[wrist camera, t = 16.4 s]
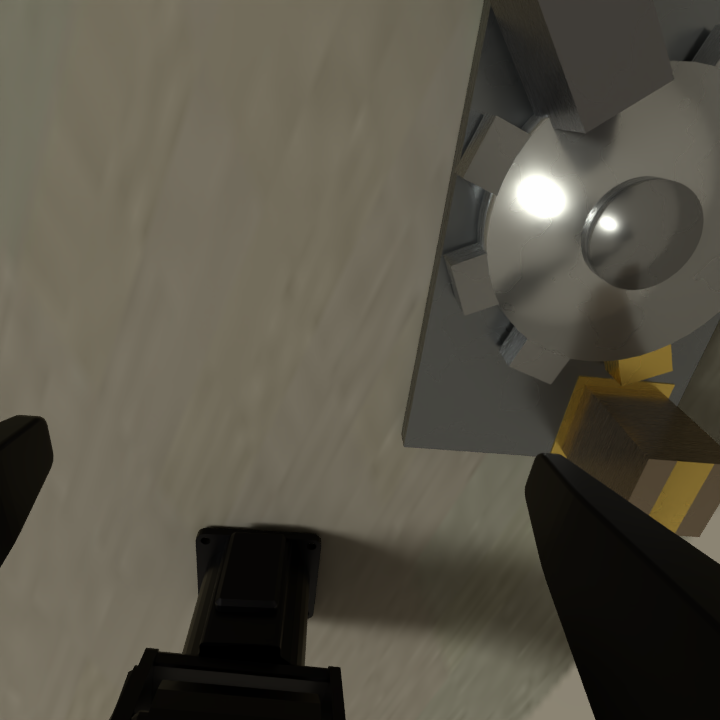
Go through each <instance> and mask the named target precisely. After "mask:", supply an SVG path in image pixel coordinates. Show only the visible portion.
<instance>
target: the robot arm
mask: <svg viewBox="0 0 720 720" xmlns="http://www.w3.org/2000/svg"><path fill="white" fill-rule="evenodd" d="M52 463H53V449H52V445H51V440H50V435H49V430H48V426H47V422H46V421H45V419H44V418H42V417H40V416H28V415H16V416H14V417H11V418H9V419H6V420H4V421H2V422H0V567H1V565H2V564H3V562H4V560H5V559H6V557H7V555H8V554H9V552H10V550H11V549H12V547H13V545H14V544H15V542H16V540H17V538H18V536H19V534H20V532H21V530H22V528H23V526H24V524H25V522H26V519H27V517H28V515H29V513H30V511H31V509H32V507H33V505H34V503H35V501H36V498H37V496H38V494H39V492H40V490H41V488H42V486H43V484H44V482H45V480H46V477H47V475H48V473H49V471H50V469H51V467H52ZM525 499H526V503H527V507H528V511H529V516H530V520H531V524H532V528H533V533H534V537H535V541H536V545H537V549H538V554H539V558H540V562H541V565H542V569H543V572H544V576H545V579H546V582H547V585H548V587H549V590H550V593H551V596H552V599H553V601H554V604H555V607H556V610H557V613H558V616H559V618H560V621H561V624H562V627H563V630H564V632H565V635H566V638H567V641H568V644H569V647H570V649H571V652H572V655H573V658H574V661H575V663H576V666H577V669H578V672H579V675H580V677H581V680H582V683H583V686H584V689H585V692H586V694H587V697H588V700H589V703H590V706H591V709H592V711H593V714H594V717H595V719H596V720H720V564H719V563H717V562H716V561H714V560H713V559H711V558H710V557H708V556H707V555H706V554H704V553H702V552H701V551H700V550H698V549H697V548H695V547H694V546H692V545H691V544H690V543H688V542H687V541H685V540H684V539H682V538H681V537H680V536H678V535H677V534H675V533H674V532H672V531H671V530H669V529H668V528H666V527H665V526H664V525H662V524H661V523H659V522H658V521H656V520H655V519H653V518H652V517H651V516H649V515H648V514H646V513H645V512H643V511H642V510H640V509H639V508H638V507H636V506H635V505H633V504H632V503H630V502H629V501H627V500H626V499H625V498H623V497H622V496H620V495H619V494H617V493H616V492H614V491H613V490H612V489H610V488H609V487H607V486H606V485H604V484H603V483H601V482H600V481H599V480H597V479H596V478H594V477H593V476H591V475H590V474H588V473H587V472H586V471H584V470H583V469H581V468H580V467H578V466H577V465H575V464H574V463H573V462H571V461H570V460H568V459H567V458H565V457H564V456H562V455H560V454H554V453H540V454H538V455H537V456H536V458H535V460H534V463H533V465H532V468H531V471H530V474H529V477H528V480H527V482H526V486H525ZM205 537H206V538H205ZM309 543H314V544H309ZM320 551H321V538H320V537H319V536H318V535H316V534H305V533H288V532H270V531H252V530H234V529H216V528H203V529H201V530H199V532H198V534H197V537H196V556H197V577H198V599H197V603H196V606H195V610H194V613H193V617H192V620H191V624H190V628H189V631H188V635H187V638H186V642H185V645H184V649H183V652H182V654H180V653H170V652H160V651H159V649H154V648H146V649H145V651H144V654H143V656H142V658H141V660H140V663H139V665H138V666H137V665H135V666H134V668H133V670H132V671H129V672H128V675H127V678H126V680H125V683H124V686H123V688H122V691H121V694H120V697H119V699H118V702H117V704H116V707H115V709H114V711H113V714H112V715H111V717H110V719H109V720H346V719H345V709H344V699H343V689H342V679H341V669H340V667H332V666H329V667H328V668H320V667H310V666H305V652H306V635H307V619H308V618H311V617H312V616H313V612H314V603H315V595H316V586H317V577H318V569H319V560H320Z"/></svg>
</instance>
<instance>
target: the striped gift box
mask: <svg viewBox="0 0 720 720" xmlns="http://www.w3.org/2000/svg"><path fill="white" fill-rule="evenodd" d="M562 451H563V452H564V454H565V456H566V457H567V459H568V460H570V461H571V462H573V463H574V464H575V465H577V466H578V467H580V468H581V469H583V470H584V471H586V472H587V473H588V474H590V475H591V476H593V477H594V478H596V479H597V480H599V481H600V482H601V483H603V484H604V485H606V486H607V487H609V488H610V489H612V490H613V491H614V492H616V493H617V494H619V495H620V496H622V497H623V498H625V499H626V500H627V501H629V502H630V503H632V504H633V505H635V506H636V507H638V508H639V509H640V510H642V511H643V512H645V513H646V514H648V515H649V516H651V517H652V518H653V519H655V520H656V521H658V522H659V523H661V524H662V525H664V526H665V527H666V528H668V529H669V530H671V531H672V532H674V533H675V534H677V535H678V536H692V537H700V535H701V533H702V532H703V530H704V528H705V527H706V525H707V523H708V522H709V520H710V518H711V517H712V515H713V513H714V512H715V510H716V508H717V507H718V505H719V503H720V445H719V444H718V443H716V442H715V441H714V440H713V439H712V438H711V437H710V436H709V435H708V434H707V433H706V432H704V431H703V430H702V429H701V428H700V427H699V426H698V425H697V424H696V423H695V422H694V421H692V420H691V419H690V418H689V417H688V416H687V415H686V414H685V413H684V412H683V411H682V410H681V409H679V408H678V407H677V406H676V405H675V404H674V403H673V402H672V401H671V400H670V399H669V398H667V397H666V396H665V395H664V394H663V393H662V392H656V391H645V390H634V389H622V388H611V387H599V386H588V385H586V387H585V389H584V392H583V394H582V397H581V400H580V402H579V405H578V408H577V410H576V413H575V415H574V418H573V421H572V423H571V426H570V428H569V431H568V434H567V436H566V439H565V441H564V444H563V447H562Z"/></svg>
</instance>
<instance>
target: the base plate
mask: <svg viewBox="0 0 720 720" xmlns="http://www.w3.org/2000/svg"><path fill="white" fill-rule="evenodd" d="M653 1H654V5H655V8H656V12H657V16H658V20H659V23H660V27H661V31H662V34H663V38H664V42H665V46H666V49H667V53H668V57H669V61H688V62H691V61H692V59H693V58H694V56H695V55H696V53H697V52H698V50H699V49H700V47H701V46H702V44H703V43H704V41H705V40H706V38H707V37H708V35H709V34H710V32H711V31H712V29H713V28H714V26H715V25H719V24H720V0H653ZM484 114H489V115H497V116H498V117H500V118H502V119H504V120H505V121H507V122H509V123H511V124H513V125H514V126H516V127H518V128H520V129H521V128H522V126H523V125H524V124H525V123H526V122H527V121H528V120H529V118H530V117H532V116H533V115H534V112H533V109H532V107H531V104H530V102H529V99H528V97H527V94H526V92H525V89H524V87H523V84H522V82H521V79H520V77H519V74H518V72H517V69H516V67H515V64H514V62H513V59H512V57H511V54H510V52H509V49H508V47H507V44H506V42H505V39H504V37H503V34H502V32H501V29H500V27H499V24H498V21H497V19H496V16H495V14H494V11H493V9H492V6H491V4H490V1H489V0H484V5H483V10H482V15H481V21H480V26H479V31H478V36H477V41H476V47H475V52H474V57H473V62H472V68H471V73H470V78H469V83H468V88H467V94H466V99H465V104H464V109H463V115H462V120H461V125H460V130H459V135H458V141H457V146H456V151H455V156H454V162H453V167H452V172H451V177H450V182H449V188H448V193H447V198H446V203H445V209H444V214H443V219H442V224H441V229H440V235H439V240H438V245H437V250H436V256H435V261H434V266H433V271H432V276H431V282H430V287H429V292H428V297H427V303H426V308H425V313H424V318H423V323H422V329H421V334H420V339H419V344H418V350H417V355H416V360H415V365H414V370H413V376H412V381H411V386H410V391H409V397H408V402H407V407H406V412H405V417H404V423H403V428H402V433H401V434H402V440H403V445H404V447H414V448H428V449H442V450H456V451H470V452H483V453H497V454H511V455H525V456H537V455H538V454H540V453H554V454H560V455H562V456H564V457H565V458H567V457H566V456H565V454H564V452H563V451H562V447H563V444H564V441H565V439H566V436H567V434H568V431H569V428H570V426H571V423H572V421H573V418H574V415H575V413H576V410H577V408H578V405H579V402H580V400H581V397H582V394H583V392H584V389H585V387H586V385H588V386H599V387H611V388H622V389H634V390H645V391H656V392H662V393H663V394H664V395H665V396H666V397H667V398H669V399H670V400H671V401H672V402H673V403H674V404H675V405H676V406H678V404H679V401H680V399H681V397H682V395H683V393H684V391H685V389H686V387H687V385H688V383H689V381H690V379H691V377H692V375H693V373H694V371H695V369H696V367H697V365H698V363H699V361H700V359H701V357H702V355H703V353H704V350H705V348H706V346H707V344H708V342H709V340H710V338H711V336H712V334H713V332H714V330H715V328H716V326H717V324H718V322H719V320H720V312H718V313H717V314H716V315H715V316H714V317H712V318H711V319H710V320H709V321H707V322H706V323H705V324H703V325H702V326H700V327H699V328H698V329H696V330H695V331H693V332H692V333H690V334H688V335H687V336H685V337H683V338H681V339H679V340H678V341H676V342H674V343H672V344H671V353H672V368H673V371H671V372H667V373H664V374H661V375H657V376H654V377H651V378H648V379H644V380H641V381H638V382H634V383H631V384H628V385H625V386H621V385H620V384H619V383H618V382H617V381H616V380H615V379H614V378H613V377H612V376H611V375H610V374H609V373H608V372H607V371H606V370H605V365H604V361H583V360H576V359H571V358H570V360H569V361H568V362H567V364H566V365H565V366H564V368H563V369H562V370H561V372H560V373H559V374H558V376H557V377H556V378H555V380H554V381H553V382H552V384H548V383H546V382H544V381H541V380H539V379H537V378H534V377H532V376H530V375H527V374H525V373H523V372H521V371H518V370H516V369H514V368H511V367H509V366H508V364H507V363H506V361H505V360H504V358H503V356H502V355H501V353H500V352H499V349H500V347H501V346H502V344H503V343H504V341H505V340H506V338H507V337H508V335H509V334H510V332H511V331H512V329H513V328H514V325H513V324H512V323H511V322H510V320H509V319H508V318H507V317H506V315H505V314H504V313H503V311H502V310H501V309H500V307H499V306H498V305H495V306H492V307H489V308H486V309H483V310H480V311H477V312H474V313H471V314H468V315H465V316H464V314H463V312H462V311H461V309H460V307H459V305H458V304H457V302H456V298H455V295H454V291H453V288H452V284H451V281H450V277H449V273H448V270H447V266H446V263H445V259H444V256H443V255H444V254H447V253H449V252H452V251H455V250H458V249H461V248H464V247H466V246H469V245H472V244H475V243H477V225H478V218H479V211H480V206H481V203H482V199H483V195H484V192H485V190H484V189H483V188H481V187H479V186H477V185H475V184H473V183H471V182H469V181H467V180H465V179H463V178H462V177H460V176H459V175H457V174H456V173H454V171H455V169H456V168H457V166H458V164H459V162H460V160H461V158H462V156H463V154H464V152H465V150H466V149H467V147H468V145H469V143H470V141H471V139H472V137H473V135H474V133H475V131H476V130H477V128H478V126H479V124H480V122H481V120H482V118H483V116H484Z"/></svg>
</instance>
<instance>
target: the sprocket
mask: <svg viewBox="0 0 720 720" xmlns="http://www.w3.org/2000/svg"><path fill="white" fill-rule="evenodd" d="M489 1H490V4H491V6H492V9H493V11H494V14H495V16H496V19H497V21H498V24H499V27H500V29H501V32H502V34H503V37H504V39H505V42H506V44H507V47H508V49H509V52H510V54H511V57H512V59H513V62H514V64H515V67H516V69H517V72H518V74H519V77H520V79H521V82H522V84H523V87H524V89H525V92H526V94H527V97H528V99H529V102H530V104H531V107H532V109H533V112H534V115H533V116H532V117H530V118H529V120H528V121H527V122H526V123H525V124H524V125H523V126H522V128H521V129H520V128H518V127H516V126H514V125H513V124H511V123H509V122H507V121H505V120H504V119H502V118H500V117H498V116H497V115H489V114H484V116H483V118H482V120H481V122H480V124H479V126H478V128H477V130H476V131H475V133H474V135H473V137H472V139H471V141H470V143H469V145H468V147H467V149H466V150H465V152H464V154H463V156H462V158H461V160H460V162H459V164H458V166H457V168H456V169H455V171H454V173H456V174H457V175H459V176H460V177H462V178H463V179H465V180H467V181H469V182H471V183H473V184H475V185H477V186H479V187H481V188H483V189H484V190H485V192H484V195H483V199H482V203H481V206H480V211H479V218H478V225H477V243H475V244H472V245H469V246H466V247H464V248H461V249H458V250H455V251H452V252H449V253H447V254H444V255H443V256H444V259H445V263H446V266H447V270H448V273H449V277H450V281H451V284H452V288H453V291H454V295H455V298H456V302H457V304H458V305H459V307H460V309H461V311H462V312H463V314H464V316H465V315H468V314H471V313H474V312H477V311H480V310H483V309H486V308H489V307H492V306H495V305H498V306H499V307H500V309H501V310H502V311H503V313H504V314H505V315H506V317H507V318H508V319H509V320H510V322H511V323H512V324H513V325H514V328H513V329H512V331H511V332H510V334H509V335H508V337H507V338H506V340H505V341H504V343H503V344H502V346H501V347H500V349H499V352H500V353H501V355H502V356H503V358H504V360H505V361H506V363H507V364H508V366H509V367H511V368H514V369H516V370H518V371H521V372H523V373H525V374H527V375H530V376H532V377H534V378H537V379H539V380H541V381H544V382H546V383H548V384H552V382H553V381H554V380H555V378H556V377H557V376H558V374H559V373H560V372H561V370H562V369H563V368H564V366H565V365H566V364H567V362H568V361H569V360H570V358H571V359H576V360H583V361H604V365H605V370H606V371H607V372H608V373H609V374H610V375H611V376H612V377H613V378H614V379H615V380H616V381H617V382H618V383H619V384H620V385H621V386H625V385H628V384H631V383H634V382H638V381H641V380H644V379H648V378H651V377H654V376H657V375H661V374H664V373H667V372H671V371H673V368H672V353H671V344H672V343H674V342H676V341H678V340H679V339H681V338H683V337H685V336H687V335H688V334H690V333H692V332H693V331H695V330H696V329H698V328H699V327H700V326H702V325H703V324H705V323H706V322H707V321H709V320H710V319H711V318H712V317H714V316H715V315H716V314H717V313H718V312H720V24H719V25H715V26H714V28H713V29H712V31H711V32H710V34H709V35H708V37H707V38H706V40H705V41H704V43H703V44H702V46H701V47H700V49H699V50H698V52H697V53H696V55H695V56H694V58H693V59H692V61H691V62H688V61H669V57H668V53H667V49H666V46H665V42H664V38H663V34H662V31H661V27H660V23H659V20H658V16H657V12H656V8H655V5H654V1H653V0H489Z"/></svg>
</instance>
